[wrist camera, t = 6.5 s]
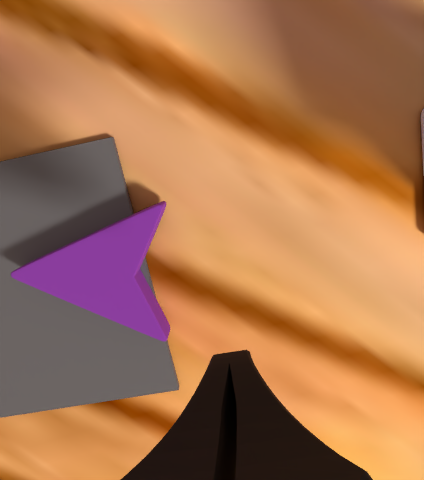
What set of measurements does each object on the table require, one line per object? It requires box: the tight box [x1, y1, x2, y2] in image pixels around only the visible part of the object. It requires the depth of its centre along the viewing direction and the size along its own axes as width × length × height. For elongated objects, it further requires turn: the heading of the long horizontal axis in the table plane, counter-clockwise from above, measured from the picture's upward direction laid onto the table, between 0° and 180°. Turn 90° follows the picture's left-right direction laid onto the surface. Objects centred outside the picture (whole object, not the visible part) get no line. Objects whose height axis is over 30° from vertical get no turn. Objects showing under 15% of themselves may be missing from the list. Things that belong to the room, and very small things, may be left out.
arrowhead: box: [11, 201, 170, 341], centre depth 21 cm, size 10×2×10 cm
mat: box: [0, 137, 179, 418], centre depth 23 cm, size 14×18×1 cm
